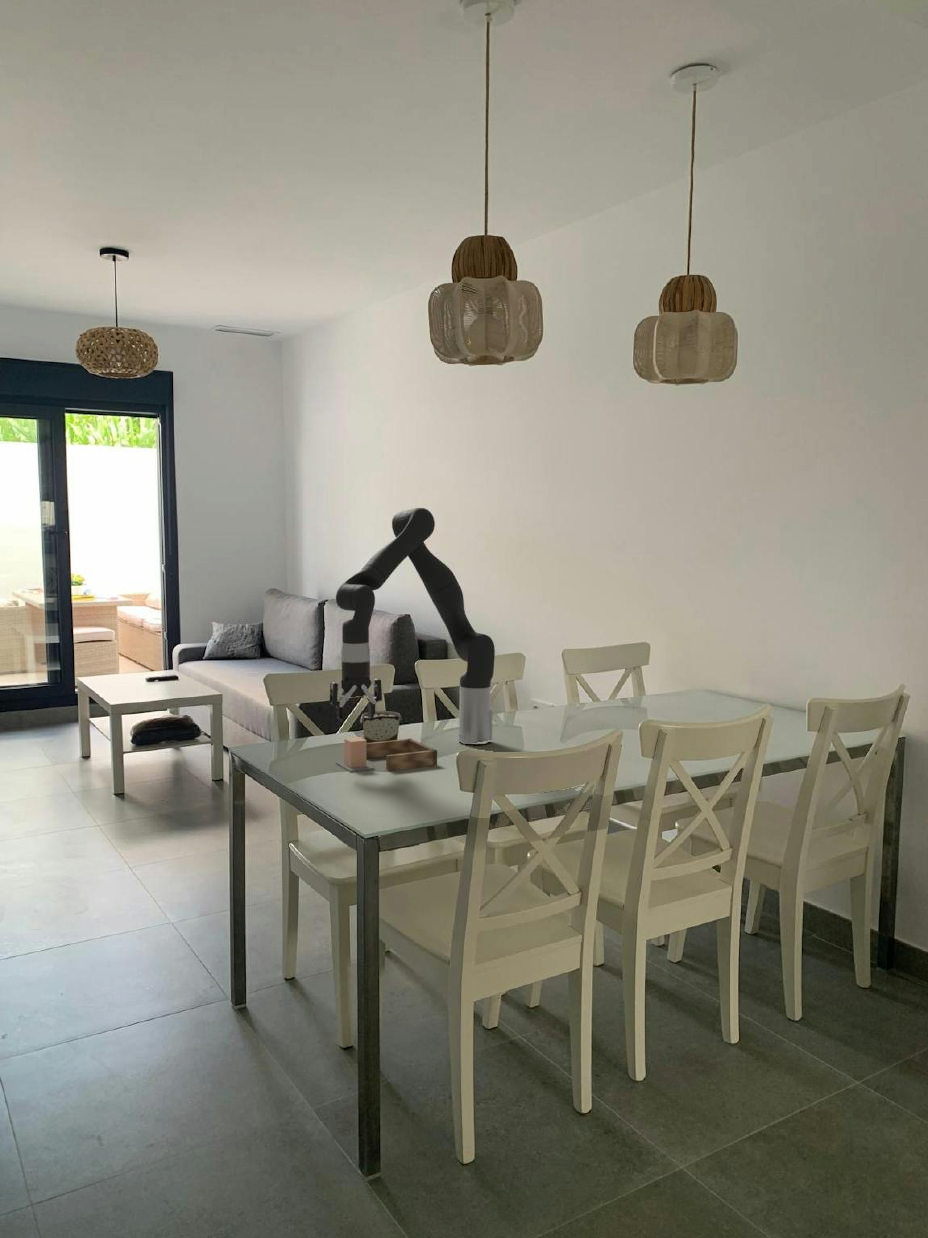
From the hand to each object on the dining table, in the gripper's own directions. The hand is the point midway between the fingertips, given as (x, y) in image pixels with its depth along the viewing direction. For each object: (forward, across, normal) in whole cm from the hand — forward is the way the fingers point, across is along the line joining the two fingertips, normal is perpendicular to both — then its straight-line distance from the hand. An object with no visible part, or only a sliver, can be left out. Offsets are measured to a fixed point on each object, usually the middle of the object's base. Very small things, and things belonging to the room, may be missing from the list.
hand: (356, 718), depth 259 cm
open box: (+13, -13, 0) cm, 18 cm away
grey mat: (+13, 0, 0) cm, 13 cm away
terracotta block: (+13, 0, 0) cm, 13 cm away
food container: (+14, -15, -19) cm, 28 cm away
